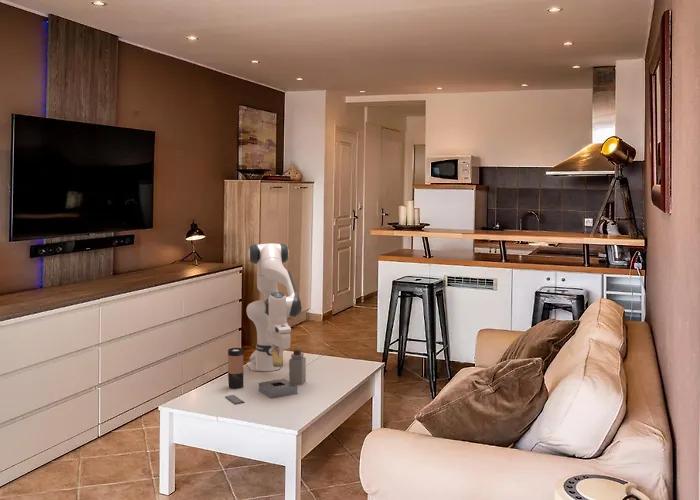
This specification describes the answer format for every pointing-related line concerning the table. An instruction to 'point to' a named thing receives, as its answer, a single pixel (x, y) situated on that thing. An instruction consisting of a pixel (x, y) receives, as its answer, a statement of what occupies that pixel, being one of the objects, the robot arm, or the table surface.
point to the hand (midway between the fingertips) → (277, 354)
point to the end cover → (277, 358)
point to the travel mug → (235, 368)
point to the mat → (234, 399)
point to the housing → (278, 388)
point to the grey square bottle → (297, 367)
